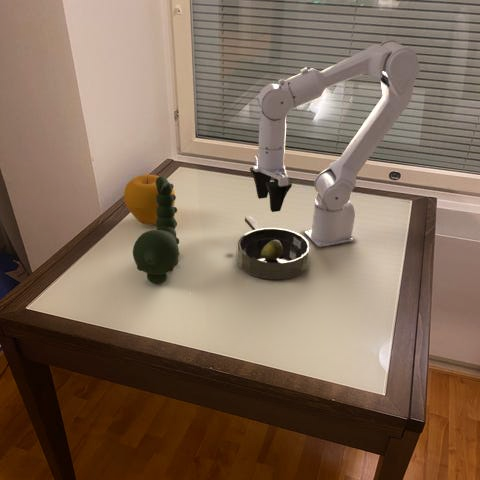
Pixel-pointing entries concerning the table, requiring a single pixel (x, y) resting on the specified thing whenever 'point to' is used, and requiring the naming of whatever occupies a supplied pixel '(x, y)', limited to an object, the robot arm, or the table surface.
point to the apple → (143, 198)
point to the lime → (272, 250)
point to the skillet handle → (253, 224)
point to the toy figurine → (159, 238)
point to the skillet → (281, 268)
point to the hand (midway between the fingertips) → (268, 204)
